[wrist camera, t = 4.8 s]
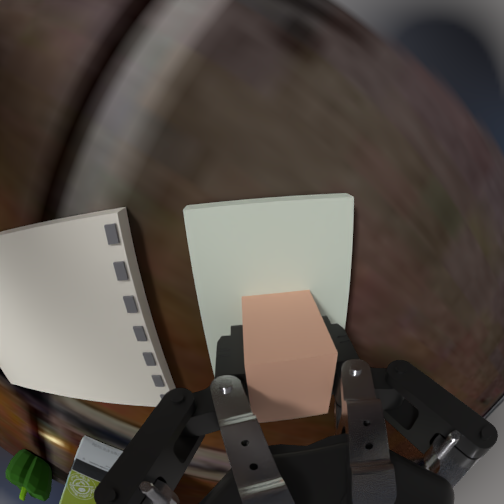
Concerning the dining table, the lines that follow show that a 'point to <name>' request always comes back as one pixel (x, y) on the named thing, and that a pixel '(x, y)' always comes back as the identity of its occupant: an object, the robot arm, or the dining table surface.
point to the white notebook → (79, 312)
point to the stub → (275, 292)
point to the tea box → (88, 471)
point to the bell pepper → (30, 475)
